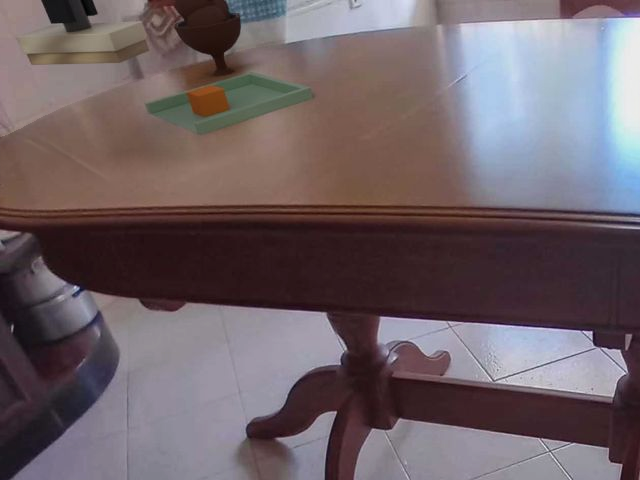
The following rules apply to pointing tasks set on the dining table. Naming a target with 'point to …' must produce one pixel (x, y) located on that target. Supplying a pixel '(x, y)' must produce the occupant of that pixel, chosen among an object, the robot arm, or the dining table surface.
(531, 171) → the dining table surface
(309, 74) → the dining table surface
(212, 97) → the eraser
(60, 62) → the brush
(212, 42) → the ice cream bowl
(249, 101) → the tray
